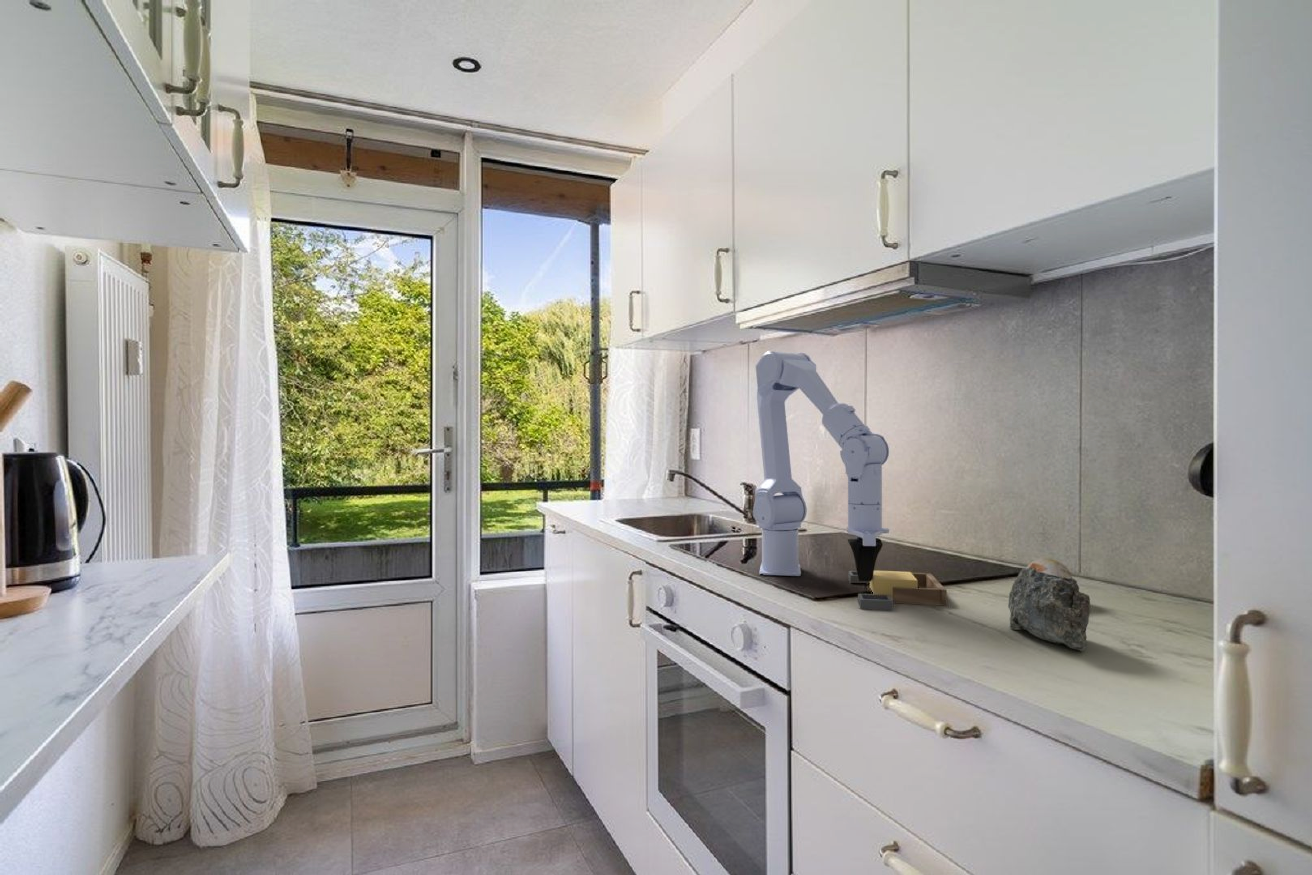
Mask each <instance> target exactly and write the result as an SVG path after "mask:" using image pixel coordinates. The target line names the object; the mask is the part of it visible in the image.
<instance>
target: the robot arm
mask: <svg viewBox="0 0 1312 875" xmlns="http://www.w3.org/2000/svg"><path fill="white" fill-rule="evenodd" d="M755 374H756V384H757V385H756V386H757V389H756V400H757V404H756V405H757V414H758V424H759V436H760V446H761V448H760V449H761V456H762V457H761V458H762V466H763V478H764V480H763V482H762V483H761V484H760V485H759V486H758V487H757V488H756V490H755V491H754V504H753V510H752V512H753V517H754V520H755V522H756V523H757V525H758V526H759V527H758V528H759V529H761V563H760V567H759V573H758V574H759V575H760V574H763V575H762V576H787V577H789V576H790V577H801V574H802V571H801V565H800V564H799V528H801V527H802V526H801V524H802V523H803V522H804V520H805V519H806V518H807V512H808V511H807V510H808V508H807V503H806V501H805V499H804V497H803V493H802V492H803V491H802V487H801V486H800V485H799V484H798V483H797V482H796V481H795V480H794V479H793V478H792V477H793V476H792V466H791V459H790V458H791V457H790V448H789V446H790V445H789V434H788V426H787V425H788V424H787V414H786V403H785V402H786V401H787V399H788V398H789V397H790V396H791V395H793V394H794V393H795V392H797V391H798V390H800V391H801V392H802V393H803V394H804V395H805V397H806V398H807V399H808V400H809V401H810V402H811V403H812V404H813V405H814V406H815V407H816V409H818V411H819V412H820V413H821V414H822V418H821V423H822V426H823V427H824V428H825V429H826V431H827V432H828V433H829V434H830V436H831V437H832V438H833V440H834V441H835V442H836V444H838V446H839V448H840V449H841V450H840V451H839V453H840V454H839V455H840V459H841V462H842V463H843V465H844V467H845V474H846V476H847V527H846V532H847V533H848V534H850V535H853V536H856V537H857V538H848V539H847V542H848V544H849V545H850V549H851V551H852V556H853V558H854V564H855V568H856V570H855V571H857V575H858V579H859V581H871V580H872V577H873V573H874V570H875V567H876V562H877V560H878V555H879V554H880V553H881V550H882V547H883V545H884V544H883V542H882V540H881V538H879V537H880V536H881V535H883V534H889V533H890V529H889V527H883V523H882V522H883V481H882V480H883V475H882V474H883V471H882V470H883V465H885V463H886V462H887V461H888V458H889V454H890V448H889V444H888V443H887V441H886V439H885V437H884V436H883V435H881V434H879V433H874V432H872V430H871V429H870V427H869V426H868V425H865V424H864V423H863V421H862V420H861V418H859V417H858V415H857V414H856V408H854V406H853V405H849V404H847V403H842V402H841V403H839V402H838V400H837V399H836V398H835V396H834V395H833V393H832V392H831V390H830V389H829V387H828V386H827V384H826V383H825V382H824V380H823V379H822V378H821V376H820V375H819V373H818V372H817V364H816V363H815V362H814V361H813V360H812V358H810V356H809V355H808V354H806V353H803V352H800V353H799V352H798V353H797V352H795V353H793V352H792V353H791V352H781V351H780V352H779V351H774V350H768V351H766V352H764V353H763V354H762V356H760V359H759V360H758V361H757V363H756V365H755ZM778 493H779V494H780V495H779V494H778ZM777 494H778V495H777Z"/></svg>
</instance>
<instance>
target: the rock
mask: <svg viewBox="0 0 1312 875" xmlns="http://www.w3.org/2000/svg"><path fill="white" fill-rule="evenodd" d="M1026 568H1027V567H1025V568H1023V569H1021V570H1020V572H1019V573H1018V574H1017V577H1016V578H1015V579H1014V582H1013V584H1012V586H1011V587H1012V588H1011V590H1010V592H1009V594H1008V606H1007V607H1008V608H1007V609H1008V610H1009V612H1010V614H1009V629H1010V630H1014V631H1015V630H1025V631H1027V632H1029V634H1031V635H1033V636H1035V637H1037V638H1039V639H1041V640H1043V641H1048V642H1051V643H1055V644H1064V645H1065V646H1067V647H1068V648H1070V649H1072V650H1076V651H1079V652H1084V651H1085V649H1086V647H1087V627H1088V625H1089V621H1090V620H1089V619H1090V614H1091V610H1092V609H1091V598H1090V595H1089V594H1086V593H1085V592H1080V587H1079V585H1078V583H1077V582H1078V581H1077V579H1075V578H1073V577H1072V578H1070V579H1068V578H1063V577H1059V576H1055V575H1051V574H1047V573H1043V572H1040V571H1037V570H1036V568H1035V567H1029V568H1028V569H1026Z"/></svg>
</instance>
